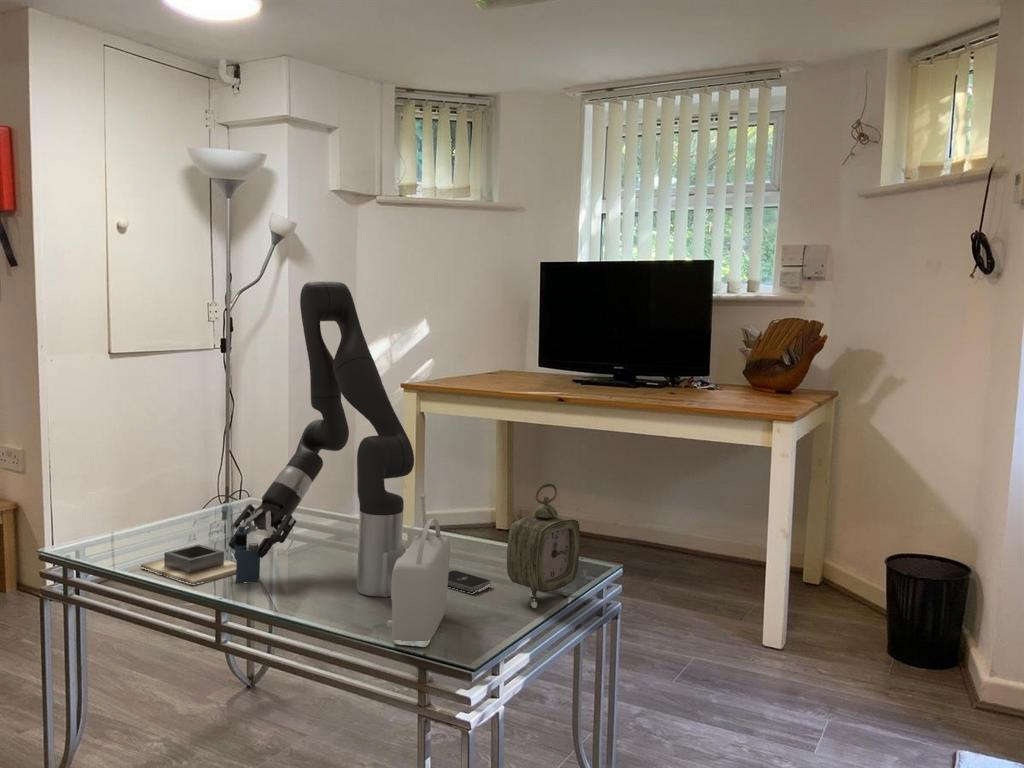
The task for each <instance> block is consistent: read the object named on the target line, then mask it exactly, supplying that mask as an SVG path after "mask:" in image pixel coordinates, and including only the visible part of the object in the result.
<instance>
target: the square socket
mask: <svg viewBox="0 0 1024 768" xmlns="http://www.w3.org/2000/svg"><path fill="white" fill-rule="evenodd" d="M163 559H164V566H166V567H169V568H172V569H175V570H178V571H182V572H185V573H188V574H192V573H195V572H199V571H203V570H206V569H210V568H214V567H217V566H221V565H224V559H225V551H223V550H220V549H216V548H212V547H209V546H206V545H202V544H199V543H198V544H195V545H191V546H187V547H183V548H178V549H174V550H168V551H165V552H164V557H163Z"/></svg>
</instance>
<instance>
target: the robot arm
mask: <svg viewBox="0 0 1024 768" xmlns="http://www.w3.org/2000/svg"><path fill="white" fill-rule="evenodd" d="M301 288H302V289H301V291H300V296H299V297H300V298H299V307H300V314H301V321H302V327H303V329H302V330H303V334H304V340H305V346H306V352H307V357H308V362H309V363H308V364H309V365H308V366H309V378H310V380H309V382H310V385H309V386H310V387H309V388H310V405H311V407H312V409H314V410H315V411H317V412H319V413H320V414H321V417H322V419H314V420H312V421H311V422H310V423H308V424H307V426H306V427H305V428H304V430H303V432H302V434H301V437H300V439H299V442H298V444H297V448H296V449H295V450H296V451H295V453H294V454H293V456H292V457H291V458H290V460H289V461H288V462H287V464H286V465H285V466H284V468H283V469H282V470H281V471H280V472H279V473H278V475H277V476H276V477H275V479H274V480H273V482H272V483H271V484H270V486H269V487H268V488H267V490H266V491H265V492H264V494H263V496H262V497H261V504H260V505H259V506H258V507H254V506H253V505H252V504H248V505H247V506H245V508H244V510H243V511H242V512H241V514H240V515H239V516H238V517H237V519H236V520H234V522H233V527H234V528H235V529H236V531H237V530H239V527H244V530H246V531H247V535H249V534H250V533H252V532H256V531H259V530H261V531H265V532H266V536H265V537H264V538H263V540H262V541H261V542H260V544H258V548H257V549H256V551H255V554H256V555H257V556H258V557H260V559H263V558H264V557H265V556H266V555H267V554H268V552H270V551H269V550H271V548H272V547H273V545H275V544H277V543H279V544H284V542H285V541H286V539H287V538H288V536H289V534H291V532H292V529H293V528H294V526H295V525H296V523H297V519H296V518H295V517H294V516H293V515H292V514H293V513H294V512H295V511H296V509H297V507H298V506H299V505H300V504H301V502H302V500H303V499H304V497H305V496H306V494H307V493H308V491H309V489H310V487H311V486H312V483H313V482H314V481H315V479H316V478H317V476H318V475H319V473H320V472H321V470H322V468H323V466H324V461H323V458H322V457H321V456H320V454H319V453H320V451H323V450H324V451H329V452H330V451H331V452H338V451H341V450H343V449H344V448H345V446H346V445H347V443H348V441H349V438H350V437H349V436H350V432H349V425H348V421H347V417H346V412H345V410H344V406H343V403H342V396H343V398H344V399H345V400H346V401H347V402H348V404H350V405H351V406H352V407H353V408H354V409H355V410H356V411H357V412H358V413H360V414H361V415H362V416H363V417H364V418H365V419H366V420H367V421H369V423H370V424H371V425H372V427H373V428H374V430H375V432H376V434H377V435H370V436H366V437H363V438H362V440H361V441H360V442H359V445H358V448H357V456H356V475H357V477H356V479H357V486H356V487H357V497H358V503H359V511H358V512H359V513H358V516H359V517H358V539H357V540H358V542H357V543H358V544H357V548H358V549H357V564H356V565H357V569H356V570H357V571H356V574H357V575H356V576H357V577H356V591H357V592H358V593H360V594H362V595H364V596H369V597H383V598H388V597H391V581H392V574H393V568H394V565H395V563H396V560H397V559H398V558H401V556H402V555H403V554H404V553H405V552H406V550H407V548H406V546H404V545H403V528H404V527H403V526H404V525H403V524H404V503H405V502H404V498H403V497H402V496H401V495H400V494H397V493H393V492H389V491H388V490H386V486H385V480H388V479H396V478H402V477H405V476H406V477H407V476H409V474H410V473H411V472H412V471H413V468H414V466H415V455H414V449H413V446H412V444H411V441H410V439H409V437H408V435H407V432H406V430H405V429H404V426H403V425H402V423H401V421H400V420H399V417H398V416H397V414H396V412H395V410H394V408H393V406H392V403H391V401H390V399H389V397H388V394H387V391H386V389H385V388H384V385H383V381H382V378H381V376H380V373H379V370H378V368H377V365H376V363H375V359H374V358H373V356H372V354H371V351H370V348H369V346H368V344H367V341H366V338H365V336H364V335H365V334H364V333H363V330H362V326H361V322H360V320H359V316H358V312H357V309H356V306H355V305H356V304H355V302H354V298H353V296H352V292H351V291H350V289H349V287H348V285H346V284H345V283H343V282H341V281H317V280H315V281H313V280H311V281H307V282H306V283H304V284H303V286H302V287H301ZM321 322H335V323H336V324H337V325H338V328H339V332H340V342H339V345H338V347H337V349H336V353H335V355H334V357H333V355H332V354H331V352H330V350H329V349H328V347H327V345H326V343H325V340H324V339H323V336H322V330H321ZM228 546H229V548H230V549H232V550H234V551H235V533H234V534H233V536H232V537H231V538H230V540H229V543H228Z"/></svg>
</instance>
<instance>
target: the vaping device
mask: <svg viewBox="0 0 1024 768" xmlns="http://www.w3.org/2000/svg"><path fill="white" fill-rule="evenodd" d="M234 534H235V550H234V555H233V556H234V560H235V561H236V562H235V563H236V574H235V583H236V584H237V583H243V584H245V583H244V582H256V583H258V582H259V579H260V577H261V572H260V571H261V570H260V569H261V558H260V557H258V556H257V555H256V554H255V551H256V549H257V548H258V547H259V543H257V542H251V543H250V542H249V543H248V540H247V539H248V534H247V531H246V529H245V530H244V527H239V530H237V529H236V530H235V532H234ZM247 543H248V545H247ZM247 546H248V547H247Z"/></svg>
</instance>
